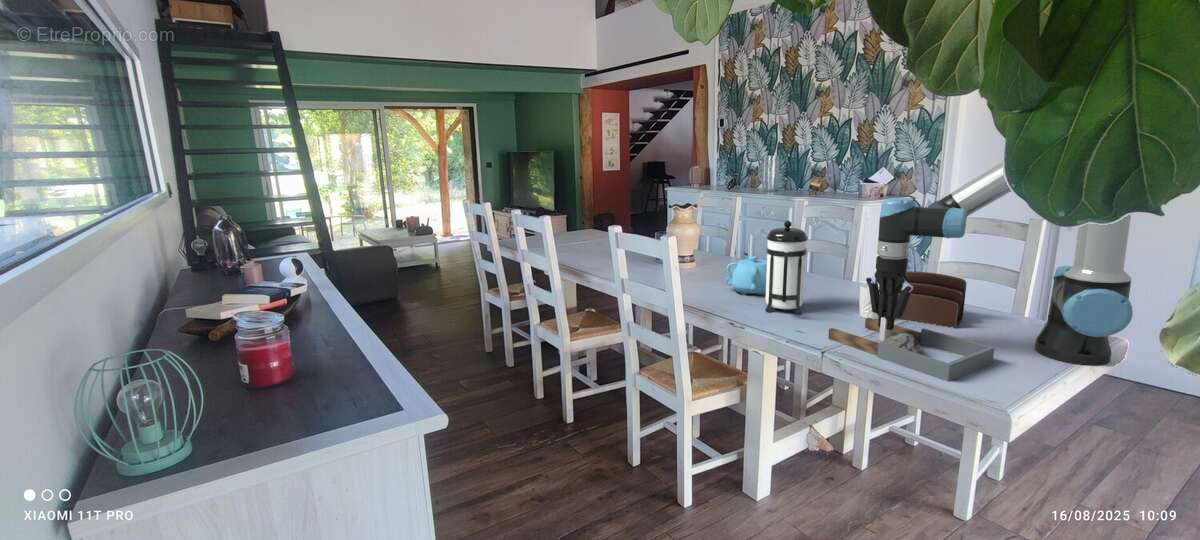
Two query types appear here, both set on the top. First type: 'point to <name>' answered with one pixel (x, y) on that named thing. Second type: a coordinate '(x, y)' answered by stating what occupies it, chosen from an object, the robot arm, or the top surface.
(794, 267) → the coffee press
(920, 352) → the fossilized seashell
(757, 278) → the decorative pot
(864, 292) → the white cup
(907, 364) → the tray
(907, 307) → the letter holder
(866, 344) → the slot rails
